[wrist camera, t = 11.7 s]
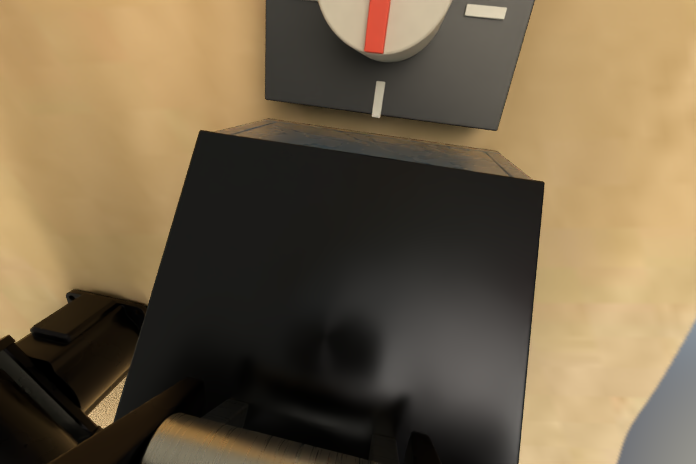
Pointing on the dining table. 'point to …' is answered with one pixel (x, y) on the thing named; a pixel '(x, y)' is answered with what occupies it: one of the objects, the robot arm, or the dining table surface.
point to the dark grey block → (379, 146)
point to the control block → (399, 64)
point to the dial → (385, 25)
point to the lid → (339, 308)
